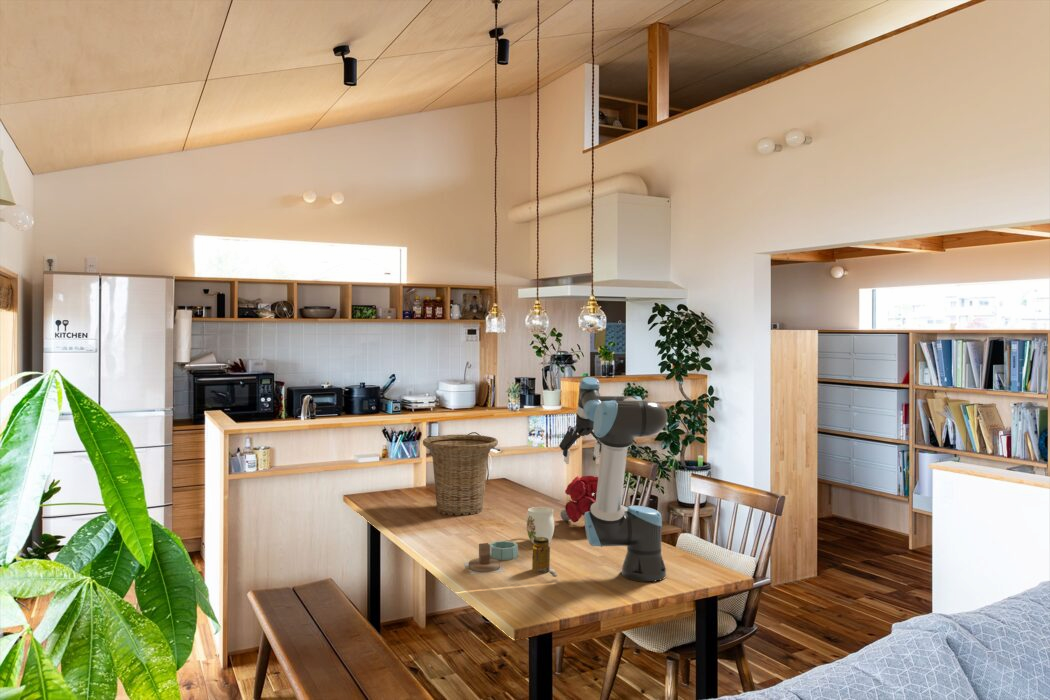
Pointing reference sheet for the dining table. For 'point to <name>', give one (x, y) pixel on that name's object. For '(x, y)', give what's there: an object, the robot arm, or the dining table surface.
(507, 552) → the bowl
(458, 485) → the wicker basket
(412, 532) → the dining table surface
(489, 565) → the lid
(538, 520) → the pitcher
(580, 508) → the bouquet
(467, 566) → the mat
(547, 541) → the condiment
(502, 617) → the dining table surface
